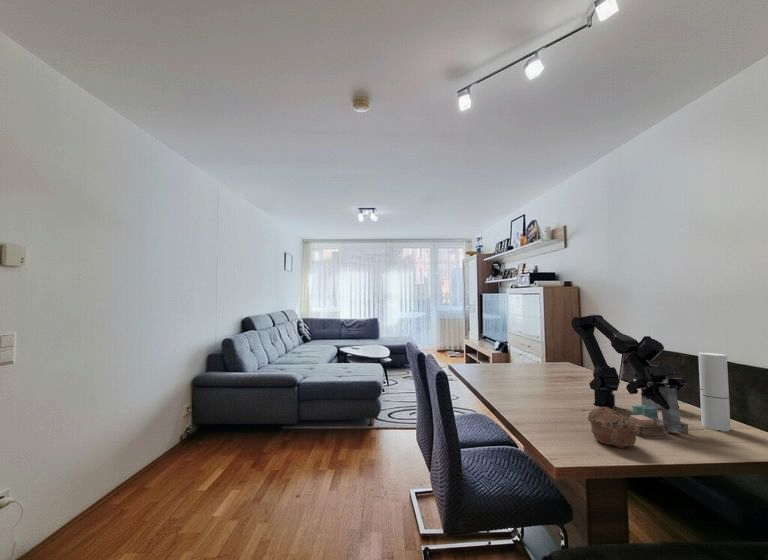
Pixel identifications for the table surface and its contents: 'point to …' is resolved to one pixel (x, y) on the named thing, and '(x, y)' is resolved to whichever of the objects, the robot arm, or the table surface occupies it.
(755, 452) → the table surface
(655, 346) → the robot arm
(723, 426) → the cylindrical container
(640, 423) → the block
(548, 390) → the table surface
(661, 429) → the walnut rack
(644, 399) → the coffee box
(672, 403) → the grey teal angled piece
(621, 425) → the decorative rock
